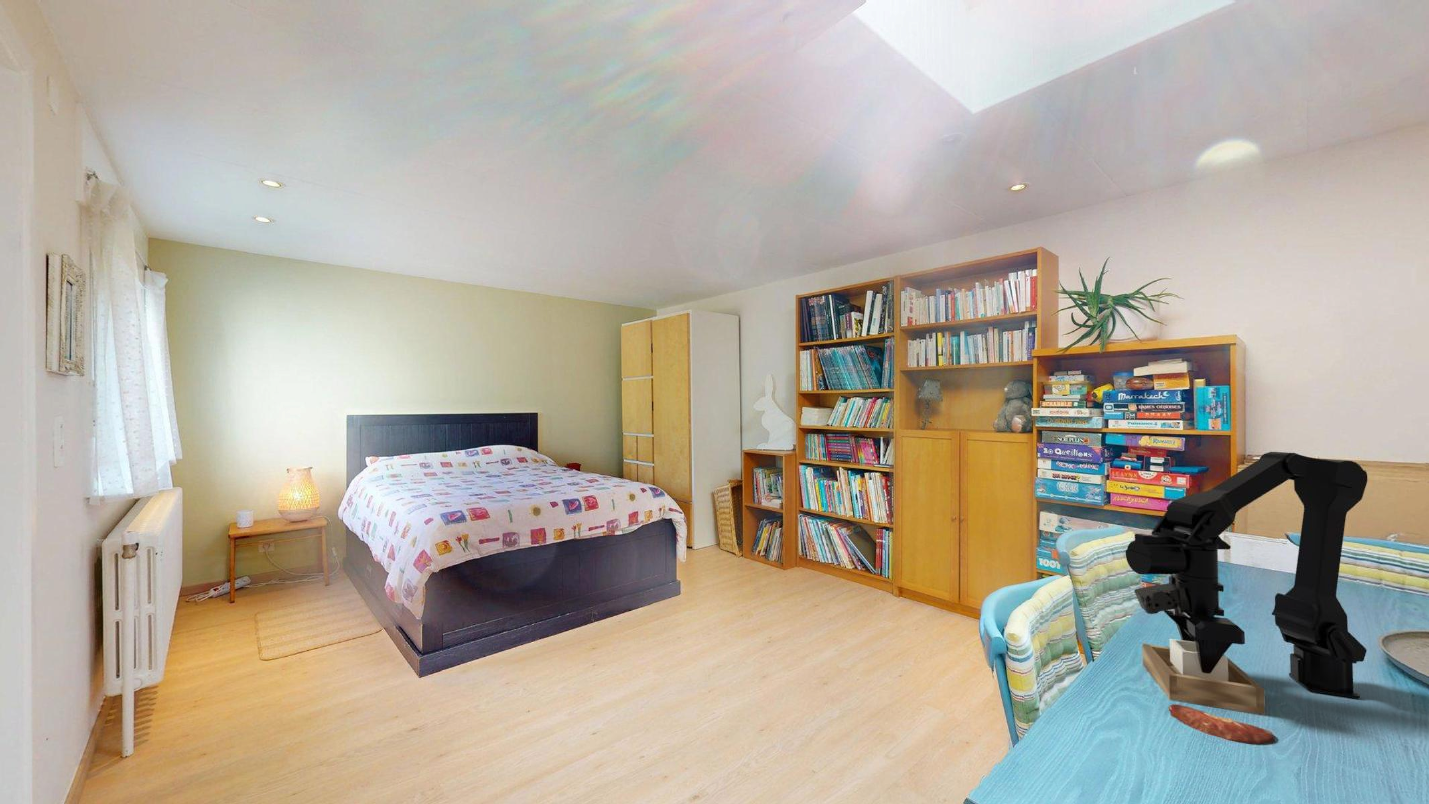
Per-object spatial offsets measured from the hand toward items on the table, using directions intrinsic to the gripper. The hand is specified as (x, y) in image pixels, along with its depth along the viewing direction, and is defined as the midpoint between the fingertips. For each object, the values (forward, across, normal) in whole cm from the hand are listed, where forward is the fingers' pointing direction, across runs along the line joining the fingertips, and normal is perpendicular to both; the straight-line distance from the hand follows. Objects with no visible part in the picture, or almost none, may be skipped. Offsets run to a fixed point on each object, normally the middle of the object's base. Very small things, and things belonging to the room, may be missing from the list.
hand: (1198, 664), depth 95 cm
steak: (+5, +14, -2) cm, 15 cm away
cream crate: (+1, 0, 0) cm, 1 cm away
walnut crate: (+4, 0, 0) cm, 4 cm away
